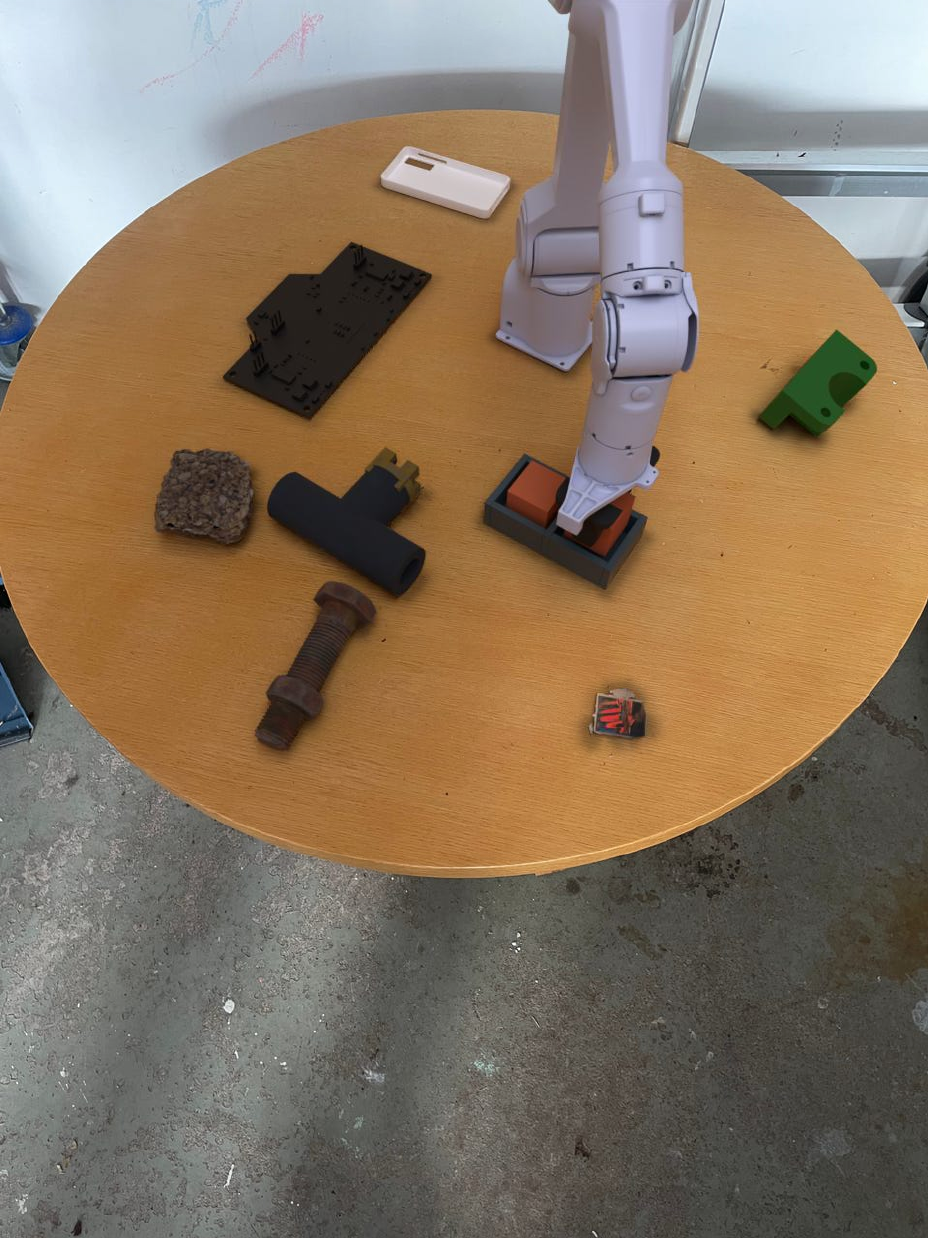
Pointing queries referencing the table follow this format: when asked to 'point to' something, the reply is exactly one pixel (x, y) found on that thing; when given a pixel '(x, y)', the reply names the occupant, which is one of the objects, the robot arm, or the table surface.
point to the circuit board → (323, 327)
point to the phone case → (447, 183)
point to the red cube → (615, 530)
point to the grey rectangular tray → (560, 534)
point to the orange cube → (535, 494)
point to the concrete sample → (206, 496)
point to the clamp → (822, 386)
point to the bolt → (313, 663)
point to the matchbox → (619, 715)
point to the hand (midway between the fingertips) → (597, 521)
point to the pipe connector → (357, 520)
